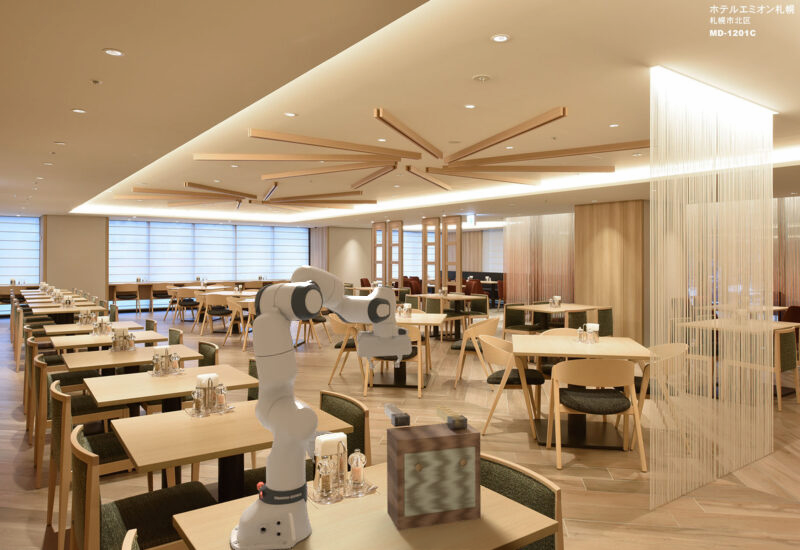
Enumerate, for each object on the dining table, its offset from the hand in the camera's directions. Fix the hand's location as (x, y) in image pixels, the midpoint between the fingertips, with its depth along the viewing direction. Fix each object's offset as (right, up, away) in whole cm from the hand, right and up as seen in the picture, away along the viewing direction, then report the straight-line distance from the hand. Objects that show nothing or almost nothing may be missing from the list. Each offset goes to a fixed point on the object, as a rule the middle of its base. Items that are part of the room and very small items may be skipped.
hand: (384, 367), depth 195 cm
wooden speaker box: (+16, -39, -32) cm, 53 cm away
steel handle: (+4, -13, -21) cm, 25 cm away
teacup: (-28, -39, +14) cm, 50 cm away
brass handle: (+22, -13, -24) cm, 35 cm away
